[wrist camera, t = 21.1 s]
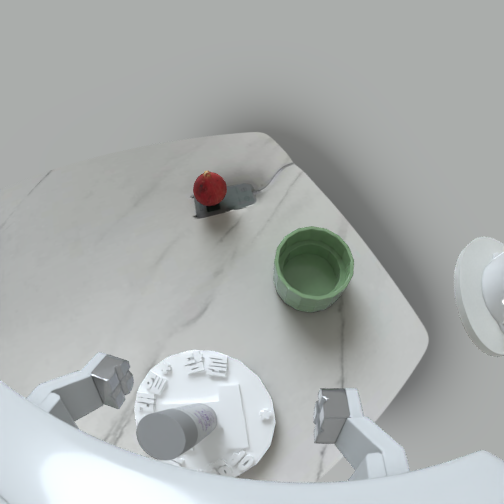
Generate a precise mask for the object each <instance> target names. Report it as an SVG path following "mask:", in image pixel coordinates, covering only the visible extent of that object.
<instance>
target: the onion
mask: <svg viewBox="0 0 504 504" xmlns="http://www.w3.org/2000/svg"><path fill="white" fill-rule="evenodd" d="M226 191H227V188H226V183H225V181H224V180H223V178H222V177H221V176H220V175H218V174H216V173H212V172H209V171H205V172H204V173H203V174H201V175H200V176H199V177H198V178H197V179H196V181H195V183H194V188H193V192H194V195H195V197H196V199H197V201H198V202H200V203H201V204H203V205H206V206H212V205H216V204H218V203H220V202H221V201H222V200H223V199H224V197H225V195H226Z"/></svg>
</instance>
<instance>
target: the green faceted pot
mask: <svg viewBox="0 0 504 504" xmlns="http://www.w3.org/2000/svg"><path fill="white" fill-rule="evenodd" d="M353 269H354V259H353V257H352V254H351V251H350V249H349V246H348V245H347V244H346V243H345V242H344V241H343V240H342V239H341V237H340V236H338V235H337V234H335V233H333V232H331V231H329V230H327V229H324V228H319V227H313V226H311V227H305V228H299V229H296V230H295V231H293V232H291V233H290V234H288V235H286V236H285V237H284V239H283V240H282V241H281V243H280V244H279V246H278V247H277V251H276V256H275V261H274V277H273V279H274V283H275V288H276V291H277V293H278V294H279V296H280V297H281V298H282V300H283V301H284V302H285V303H286V304H288V305H289V306H291V307H293V308H294V309H296V310H299V311H305V312H316V311H320V310H324V309H326V308H328V307H329V306H330V305H332V304H333V303H334V302H336V301H337V299H338V298H339V297H340V295H341V294H342V293H343V291H344V290H345V289H346V287H347V285H348V284H349V282H350V280H351V278H352V276H353Z"/></svg>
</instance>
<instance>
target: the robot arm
mask: <svg viewBox="0 0 504 504" xmlns="http://www.w3.org/2000/svg"><path fill="white" fill-rule="evenodd" d="M482 292H483V297H484V300H485V303H486V306H487V308H488V310H489V312H490V313H491V315H492V316H493V318H494V319H495V320H496V321H497V322H498V324H499V327H500V329H501V331H502V333H503V334H504V252H503V253H501V254H500V253H498V252H496V253H495V254H493V256H492V259H491V262H490V263H489V264H488V265H487V266H486V267H485V269H484V271H483V275H482ZM129 368H130V365H129V361H127V360H124V359H121V358H118V357H115V356H111V355H108V354H105V353H102V352H99V353H97V354H96V355H95V356H94V357H93V358H92V359H91V360H90V361H89V363H88V364H87V365H86V366H85V367H84V368H83V369H82V370H81V371H76V372H73V373H70V374H67V375H64V376H61V377H59V378H56V379H53V380H50V381H47V382H44V383H41V384H39V385H38V386H37V387H36V388H35V389H34V390H33V391H32V392H31V394H30V395H29V396H28V397H27V398H24V397H23V396H21V395H20V394H19V393H17V392H16V391H14V390H13V389H12V388H10V387H9V386H8V385H6V384H5V383H4V382H2V381H1V380H0V504H504V461H503V460H501V459H500V458H498V457H497V456H495V455H493V454H491V453H489V452H487V451H485V450H480V451H476V452H474V453H471V454H468V455H466V456H463V457H460V458H457V459H454V460H451V461H448V462H445V463H441V464H438V465H434V466H431V467H427V468H423V469H419V470H415V471H410V469H409V465H408V461H407V458H406V454H405V450H404V448H403V447H402V446H401V445H400V444H398V443H397V442H396V441H395V440H394V439H393V438H391V437H390V436H389V435H388V434H387V433H386V432H384V431H383V430H382V429H381V428H380V427H379V426H377V425H376V424H375V423H374V422H373V421H372V420H371V419H369V418H368V417H364V414H363V410H362V405H361V401H360V397H359V393H358V389H357V388H345V389H344V388H320V390H319V393H318V401H316V404H315V408H314V417H313V419H314V424H315V425H316V426H315V429H314V443H322V444H335V445H336V447H337V448H338V449H339V451H340V452H341V453H342V454H343V456H344V457H345V458H346V459H347V461H348V462H349V463H350V464H351V466H352V467H353V468H354V469H355V472H354V473H353V474H352V476H351V477H350V478H349V479H348V481H339V482H316V483H297V482H273V481H261V480H251V479H242V478H235V477H228V476H222V475H216V474H211V473H206V472H201V471H196V470H192V469H187V468H183V467H179V466H175V465H172V464H168V463H164V462H161V461H158V460H154V459H151V458H148V457H145V456H142V455H139V454H136V453H133V452H131V451H128V450H125V449H123V448H120V447H117V446H115V445H112V444H110V443H108V442H105V441H103V440H101V439H98V438H96V437H94V436H92V435H90V434H87V433H85V432H83V431H81V430H79V428H78V426H77V425H76V423H75V422H74V421H76V420H78V419H80V418H82V417H83V416H85V415H87V414H89V413H90V412H92V411H94V410H96V409H97V408H99V407H101V406H103V405H104V404H105V405H108V406H111V407H114V408H117V409H120V407H121V405H122V404H123V402H124V401H125V396H124V395H127V394H129V393H130V391H131V390H132V387H133V384H134V379H133V375H132V373H131V372H130V371H129Z"/></svg>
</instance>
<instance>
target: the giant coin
mask: <svg viewBox="0 0 504 504" xmlns="http://www.w3.org/2000/svg"><path fill="white" fill-rule="evenodd" d="M197 403H201V404H205V405H207V406H209V407H211V408H212V409H213V410H214V412H215V413H216V416H217V425H216V428H215V429H214V430H213V431H212V432H211V433H210V434H209V435H208V436H206V437H205V438H204V439H203V440H202V441H200V442H199V443H198V444H196V445H195V446H194V447H193V448H191V449H189V450H188V451H186V452H185V453H183V454H181V455H180V456H178V457H177V458H175V459H172V460H159V459H157V460H158V461H161V462H164V463H168V464H172V465H175V466H179V467H183V468H187V469H192V470H196V471H201V472H206V473H211V474H216V475H222V476H228V477H237V476H239V475H240V474H242V473H244V472H245V471H247V470H249V469H250V468H252V467H253V466H255V465H256V464H257V463H258V462H259V461H260V459H261V458H262V456H263V455H264V454H265V452H266V451H267V450H268V448H269V447H270V445H271V441H272V437H273V432H274V428H275V424H276V421H275V415H274V409H273V403H272V398H271V396H270V395H269V393H268V391H267V390H266V388H265V386H264V385H263V383H262V381H261V379H260V378H259V377H258V376H257V375H256V374H255V373H254V372H252V371H251V370H250V369H249V368H248V367H247V366H245V365H244V364H243V363H242V362H241V361H239V360H237V359H234V358H232V357H229V356H227V355H224V354H222V353H219V352H217V351H204V350H189V351H185V352H182V353H178V354H174V355H170V356H168V357H167V358H166V359H164V360H163V361H161V362H160V363H158V364H157V365H156V366H154V367H153V368H151V370H150V371H149V373H148V374H147V376H146V377H145V379H144V380H143V381H142V383H141V384H140V386H139V389H138V392H137V398H136V402H135V406H134V410H135V418H136V419H135V422H136V425H137V426H138V423H139V422H140V420H141V419H142V418H143V417H144V416H146V415H148V414H151V413H155V412H159V411H163V410H167V409H171V408H176V407H181V406H186V405H191V404H197Z"/></svg>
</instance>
